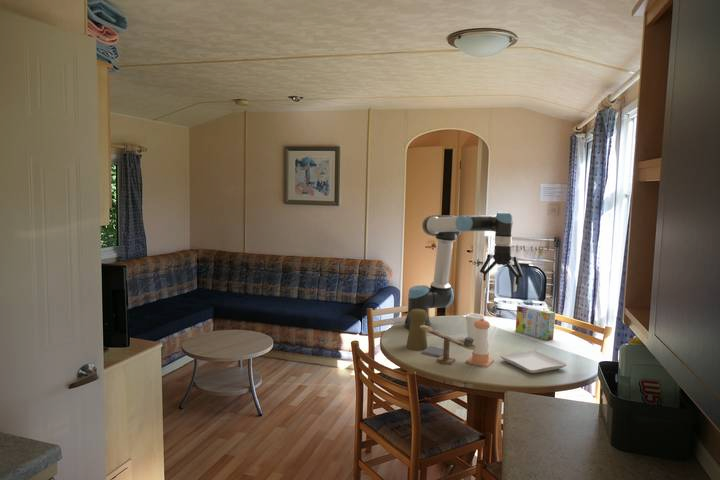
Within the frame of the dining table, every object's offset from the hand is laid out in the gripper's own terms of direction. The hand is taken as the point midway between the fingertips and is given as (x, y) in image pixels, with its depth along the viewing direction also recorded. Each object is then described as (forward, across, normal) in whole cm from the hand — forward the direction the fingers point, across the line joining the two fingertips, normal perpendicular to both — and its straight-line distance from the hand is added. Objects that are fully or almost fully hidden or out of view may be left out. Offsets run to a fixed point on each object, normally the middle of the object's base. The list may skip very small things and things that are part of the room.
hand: (500, 289), depth 235 cm
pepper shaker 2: (+31, -3, -16) cm, 35 cm away
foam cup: (+32, -17, +16) cm, 40 cm away
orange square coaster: (+32, -3, -16) cm, 36 cm away
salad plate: (+32, +18, -6) cm, 37 cm away
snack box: (+32, +7, +45) cm, 56 cm away
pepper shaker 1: (+32, -36, -14) cm, 50 cm away
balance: (+32, -16, -25) cm, 43 cm away
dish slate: (+32, -25, -16) cm, 43 cm away
